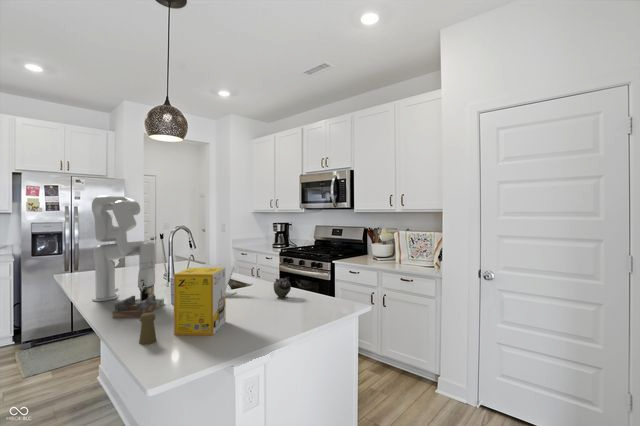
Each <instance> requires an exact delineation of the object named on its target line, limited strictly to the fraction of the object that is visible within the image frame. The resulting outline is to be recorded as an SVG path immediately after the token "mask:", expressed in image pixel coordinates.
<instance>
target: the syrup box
mask: <svg viewBox="0 0 640 426" xmlns="http://www.w3.org/2000/svg"><path fill="white" fill-rule="evenodd" d="M169 280H170V305H171V304H172V305H174V276H173V277H170V278H169Z"/></svg>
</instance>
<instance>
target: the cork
mask: <svg viewBox="0 0 640 426" xmlns="http://www.w3.org/2000/svg"><path fill="white" fill-rule="evenodd" d="M139 320H140V323H141V327H140V331H139V332H140V334H139V340H138V344H139V345H141V344H142V345H144V346H145V345H151V344H153V342H154V343H156V342H157V334H156V327H155V320H156V314H155V313H154V312H150V313H144V314H142V315H141V317H140V318H139ZM155 341H156V342H155ZM142 345H141V346H142Z"/></svg>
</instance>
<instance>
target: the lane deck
mask: <svg viewBox="0 0 640 426" xmlns="http://www.w3.org/2000/svg"><path fill="white" fill-rule="evenodd" d="M164 304H165V298H164V297H162V298H161V297H160V298H159V297H158V298H156V295H154V296H151V297H149V298H147V299H145V300H144V301H142V302H140V298H137V299H136V295H131V296H130V297H127V298H125V299H123V300H121V301H119V302H116V303H115V304H114V310H113V311H112V312H111V313H112V319H130V318H131V319H132V318H134V319H135V318H137V319H138V318H139V319H140V317H141V315H142V314H144V313H153V312H154V311H155V310H157V309H158V308H159V307H161V306H163V305H164Z"/></svg>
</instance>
